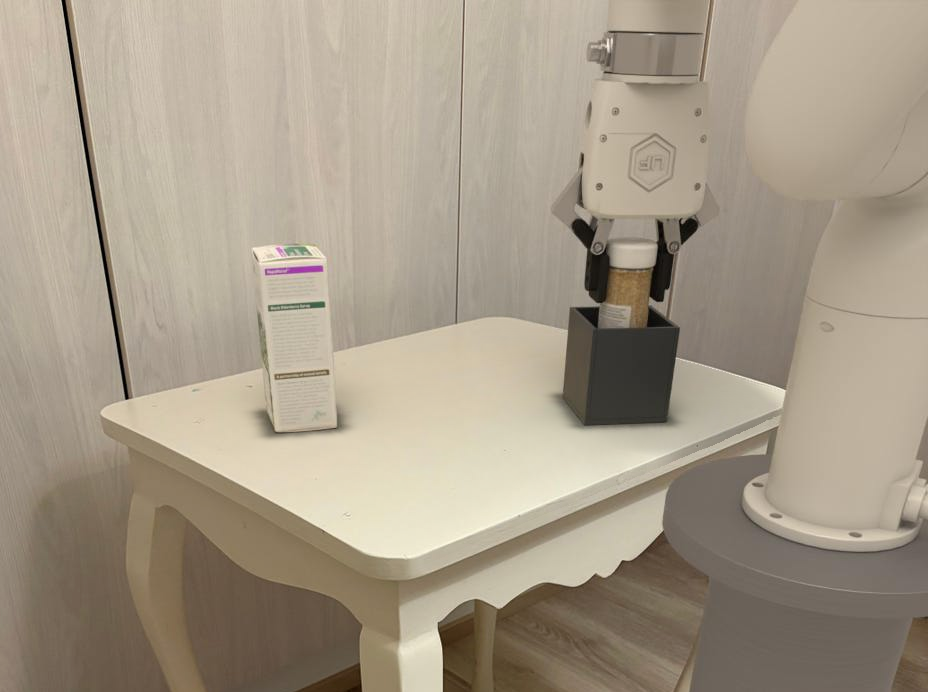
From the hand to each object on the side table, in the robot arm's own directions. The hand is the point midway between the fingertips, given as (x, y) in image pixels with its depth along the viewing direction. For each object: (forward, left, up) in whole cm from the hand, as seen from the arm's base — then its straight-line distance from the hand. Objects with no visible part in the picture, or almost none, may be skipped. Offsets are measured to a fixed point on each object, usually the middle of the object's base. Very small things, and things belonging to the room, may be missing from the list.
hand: (625, 296), depth 88 cm
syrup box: (+22, +19, -10) cm, 31 cm away
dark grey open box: (0, 0, -10) cm, 10 cm away
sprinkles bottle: (0, 0, -9) cm, 9 cm away
